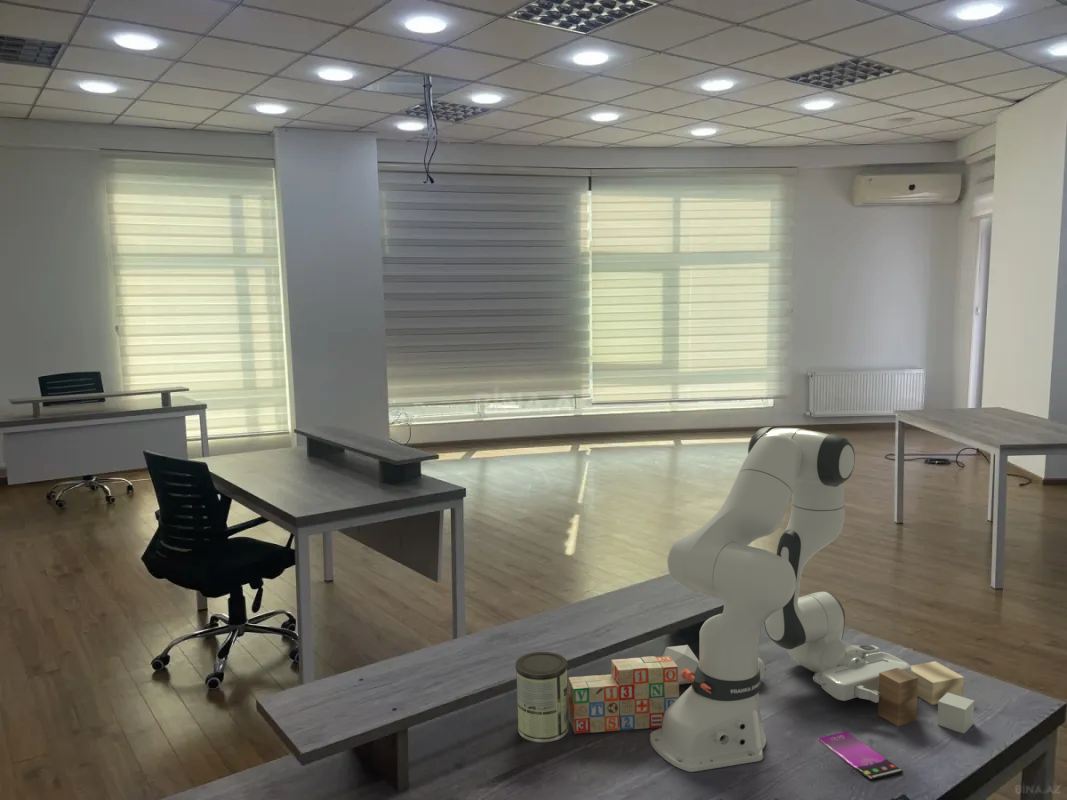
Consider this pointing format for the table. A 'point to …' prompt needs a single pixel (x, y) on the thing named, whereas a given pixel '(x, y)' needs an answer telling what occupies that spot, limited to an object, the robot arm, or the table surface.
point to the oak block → (936, 681)
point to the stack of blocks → (624, 695)
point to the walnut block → (898, 696)
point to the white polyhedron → (682, 660)
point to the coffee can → (542, 696)
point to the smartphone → (860, 756)
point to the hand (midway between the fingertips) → (896, 693)
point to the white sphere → (761, 667)
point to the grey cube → (955, 712)
